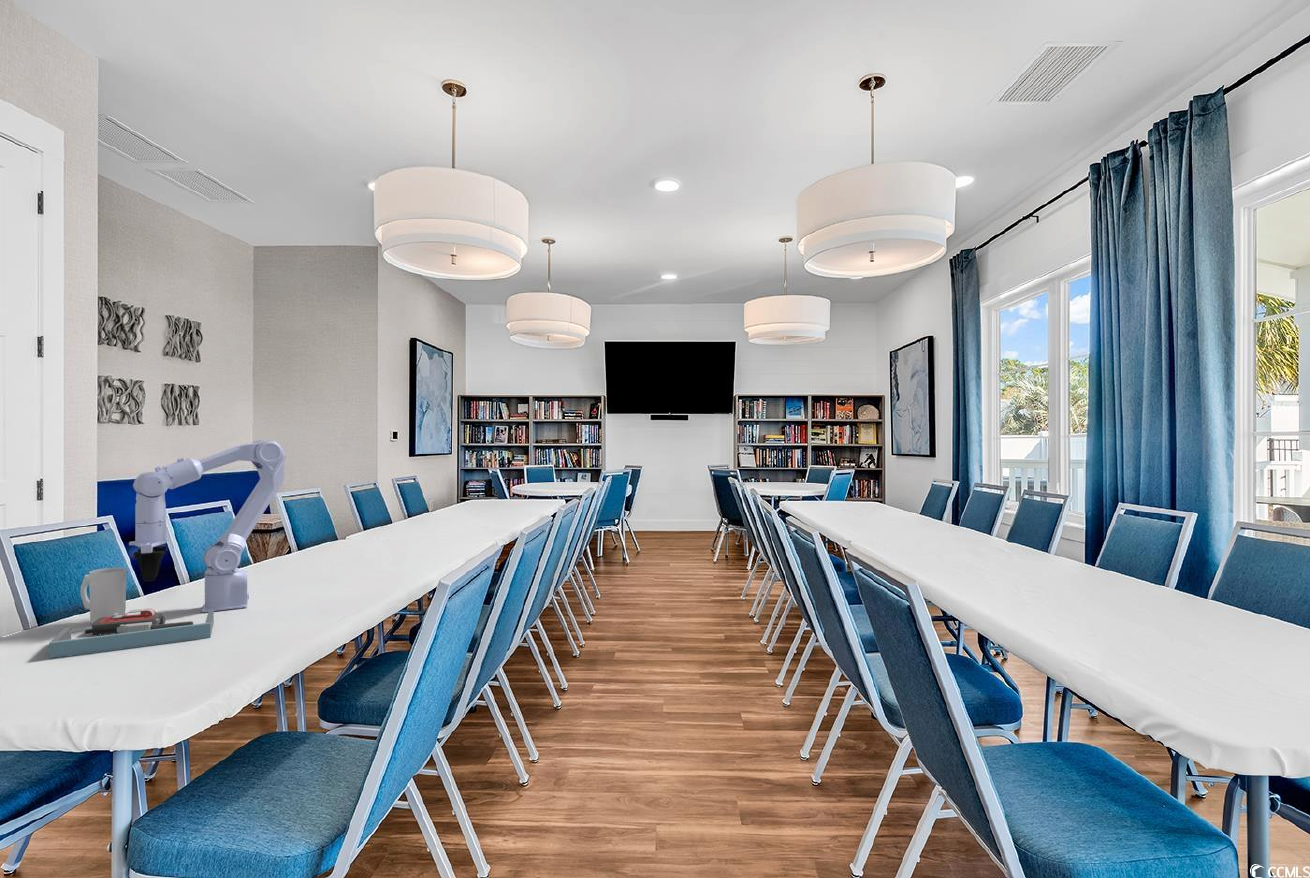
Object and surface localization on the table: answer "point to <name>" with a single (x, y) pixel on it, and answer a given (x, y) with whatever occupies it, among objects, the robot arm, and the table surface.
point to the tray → (128, 639)
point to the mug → (105, 592)
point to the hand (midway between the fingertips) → (150, 579)
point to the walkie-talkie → (132, 623)
